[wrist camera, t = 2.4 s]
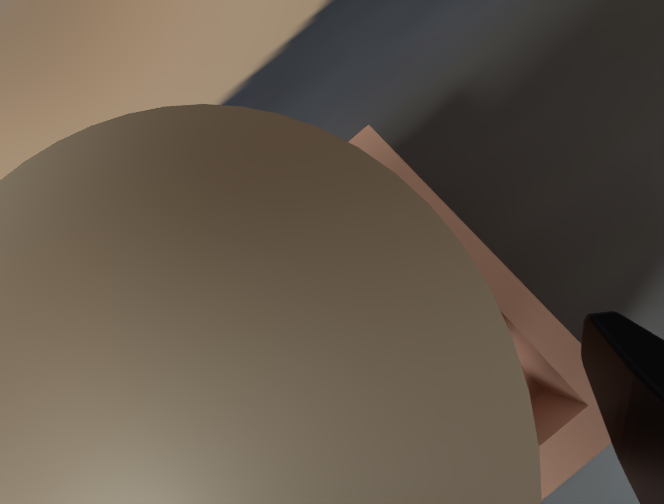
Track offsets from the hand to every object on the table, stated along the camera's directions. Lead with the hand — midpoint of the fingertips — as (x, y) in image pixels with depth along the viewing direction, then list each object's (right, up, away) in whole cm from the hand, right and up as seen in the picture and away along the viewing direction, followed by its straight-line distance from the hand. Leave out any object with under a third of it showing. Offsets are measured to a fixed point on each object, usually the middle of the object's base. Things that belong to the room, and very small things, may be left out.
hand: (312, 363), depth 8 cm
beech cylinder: (+1, -2, +7) cm, 7 cm away
